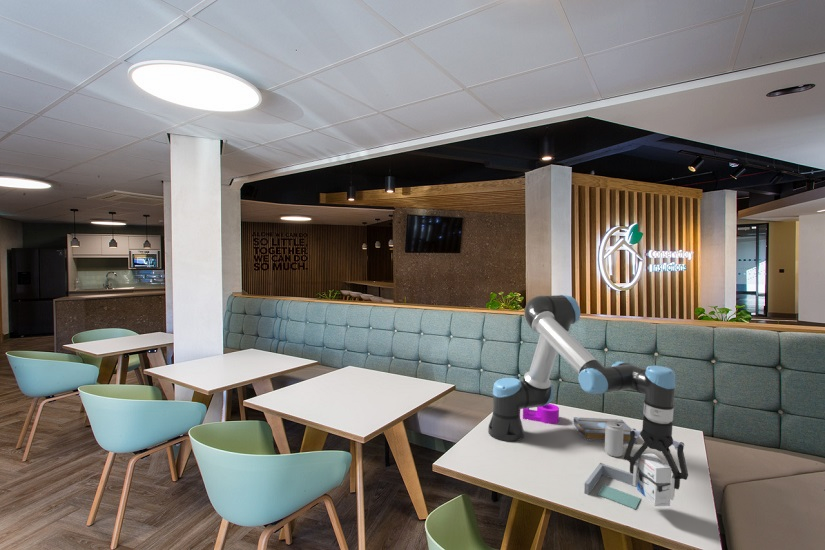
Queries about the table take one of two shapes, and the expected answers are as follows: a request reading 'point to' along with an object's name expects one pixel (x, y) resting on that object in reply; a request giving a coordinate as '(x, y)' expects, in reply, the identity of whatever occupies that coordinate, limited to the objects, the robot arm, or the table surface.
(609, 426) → the beverage can
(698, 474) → the table surface
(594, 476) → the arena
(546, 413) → the tape dispenser
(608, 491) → the mat
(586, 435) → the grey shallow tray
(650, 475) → the ink box
